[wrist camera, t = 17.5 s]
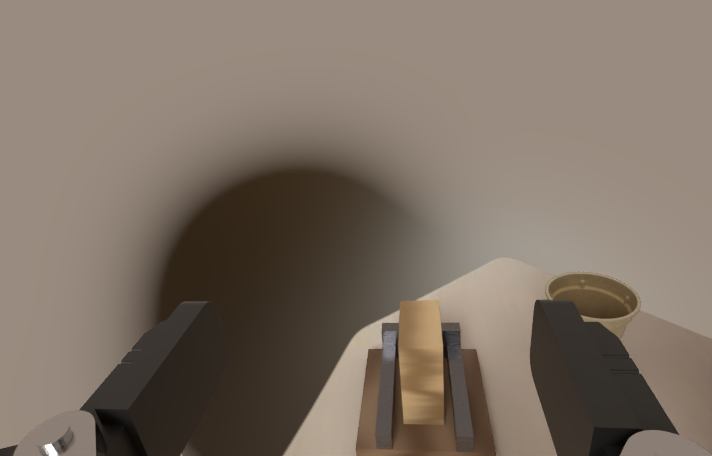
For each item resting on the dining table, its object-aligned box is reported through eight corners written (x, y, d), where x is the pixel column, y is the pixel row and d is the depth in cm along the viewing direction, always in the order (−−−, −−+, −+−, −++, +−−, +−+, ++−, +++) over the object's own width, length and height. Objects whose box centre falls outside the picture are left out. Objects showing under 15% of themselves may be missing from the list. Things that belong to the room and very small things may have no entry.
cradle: (475, 359, 54) (476, 322, 51) (495, 464, 41) (497, 422, 39) (369, 358, 55) (365, 323, 53) (357, 458, 43) (351, 418, 41)
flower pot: (551, 382, 49) (558, 319, 46) (531, 328, 58) (536, 272, 54) (642, 384, 48) (658, 319, 44) (608, 329, 56) (619, 270, 52)
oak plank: (440, 373, 50) (438, 300, 46) (444, 424, 44) (442, 346, 39) (404, 373, 51) (400, 300, 46) (403, 423, 44) (398, 345, 40)
